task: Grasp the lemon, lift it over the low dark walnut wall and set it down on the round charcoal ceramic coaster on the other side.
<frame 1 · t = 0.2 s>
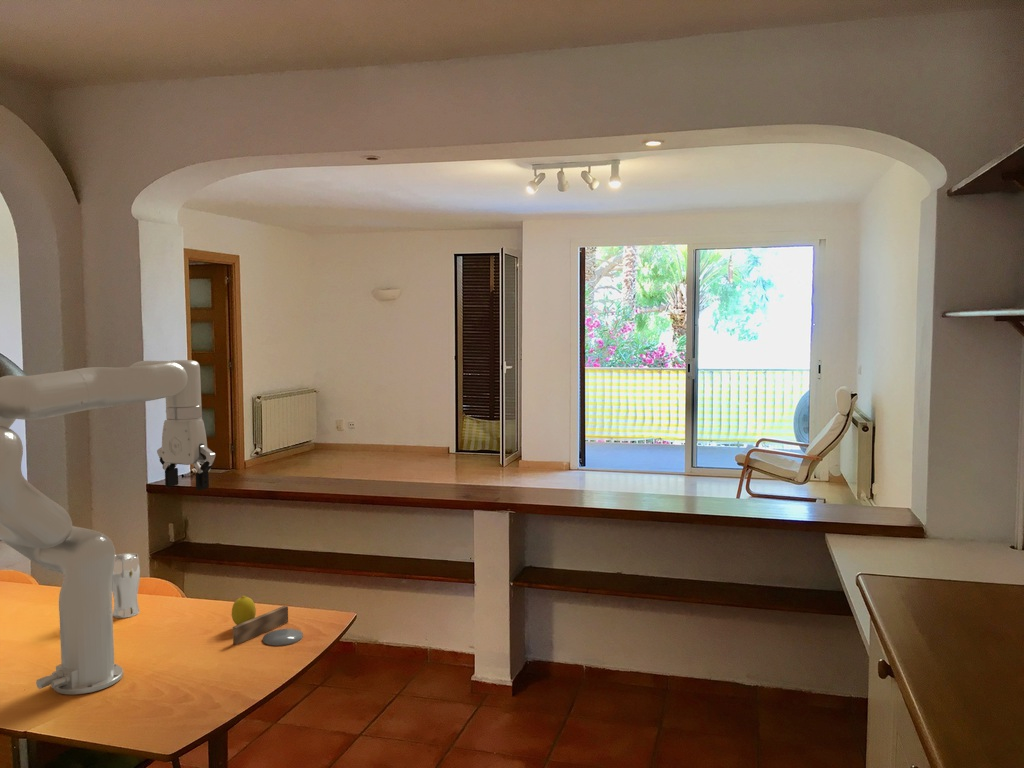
hand: (187, 487, 177), 36 cm above the table, tool pointing down, fingers open, 9 cm apart
lemon: (244, 628, 187), on the table
walnut wall: (261, 632, 184), on the table
beer glass: (126, 614, 197), on the table
coaster: (282, 638, 181), on the table
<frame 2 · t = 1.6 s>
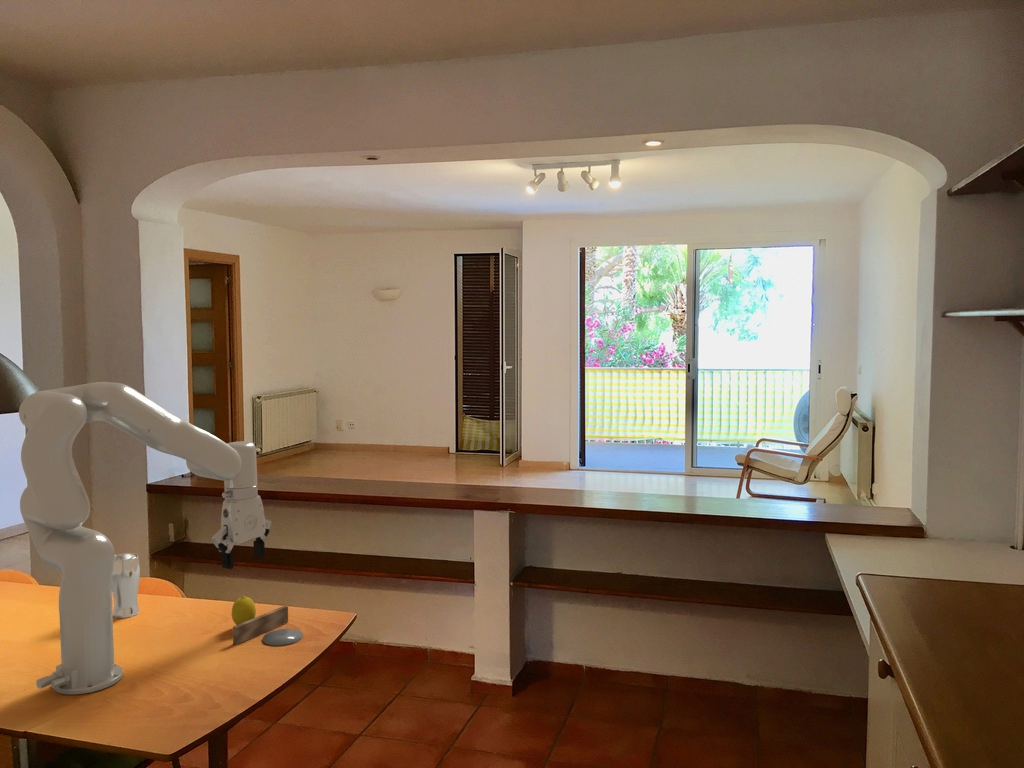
hand: (244, 562, 187), 16 cm above the table, tool pointing down, fingers open, 9 cm apart
nothing on the table moved.
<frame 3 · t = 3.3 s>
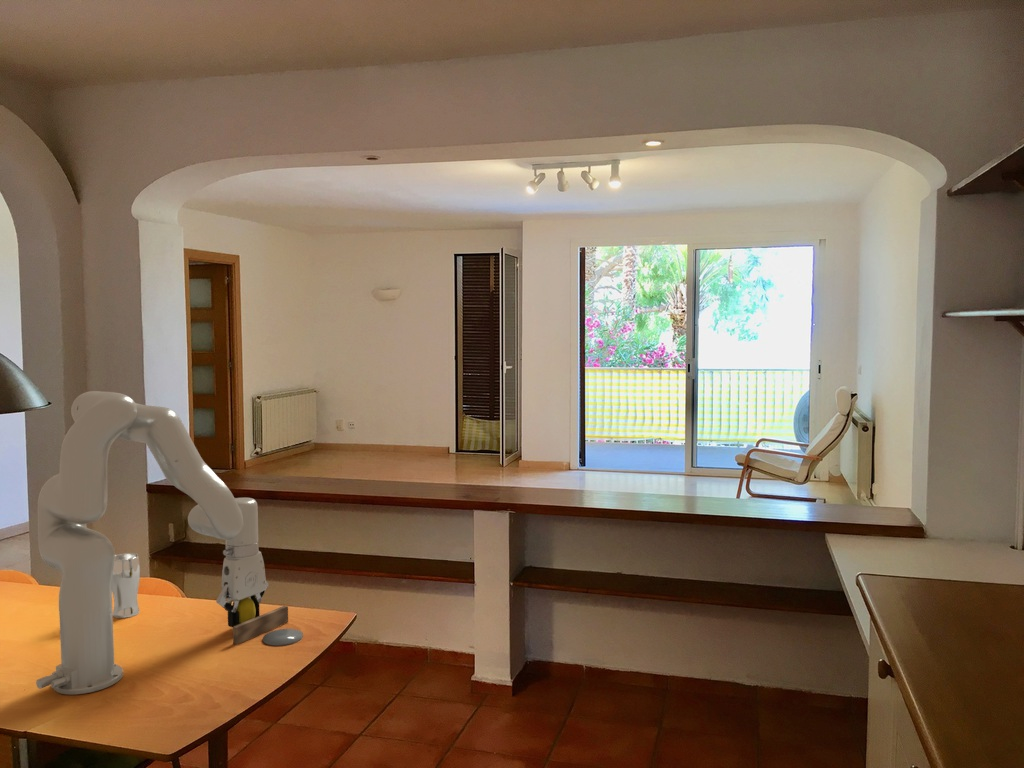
hand: (244, 621, 187), 2 cm above the table, tool pointing down, fingers closed on lemon, 5 cm apart
lemon: (244, 628, 187), on the table, touching gripper
everything else where it was.
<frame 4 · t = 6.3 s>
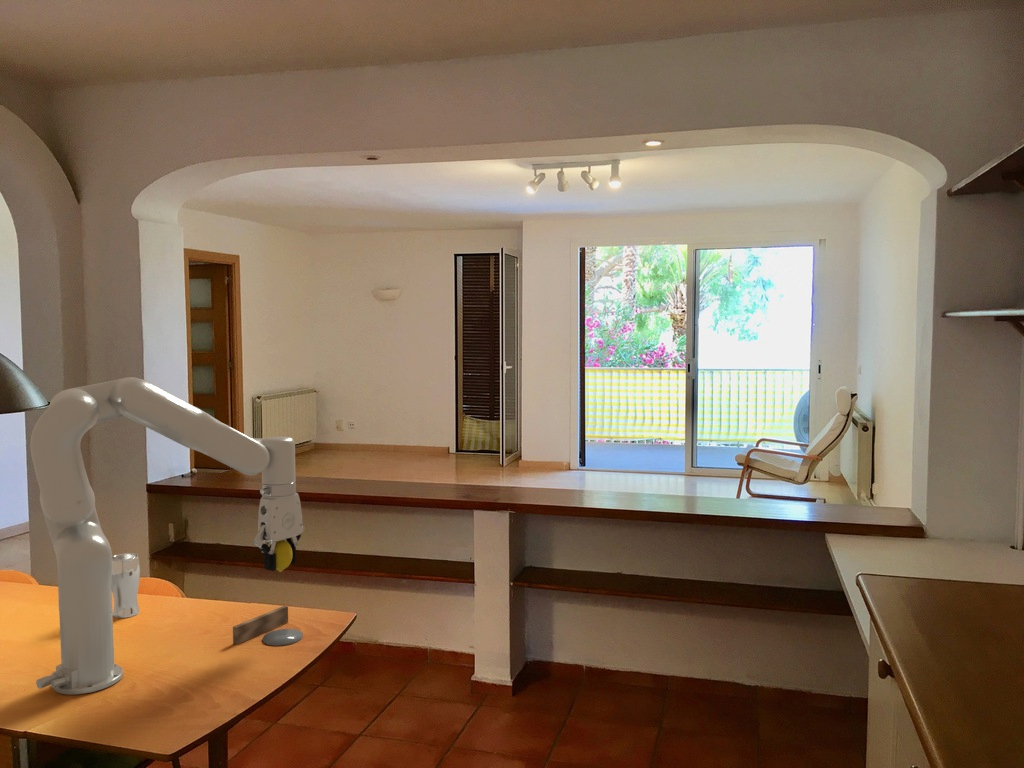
hand: (280, 565, 180), 17 cm above the table, tool pointing down, fingers closed on lemon, 5 cm apart
lemon: (280, 572, 180), point 16 cm above the table, touching gripper
everything else where it was.
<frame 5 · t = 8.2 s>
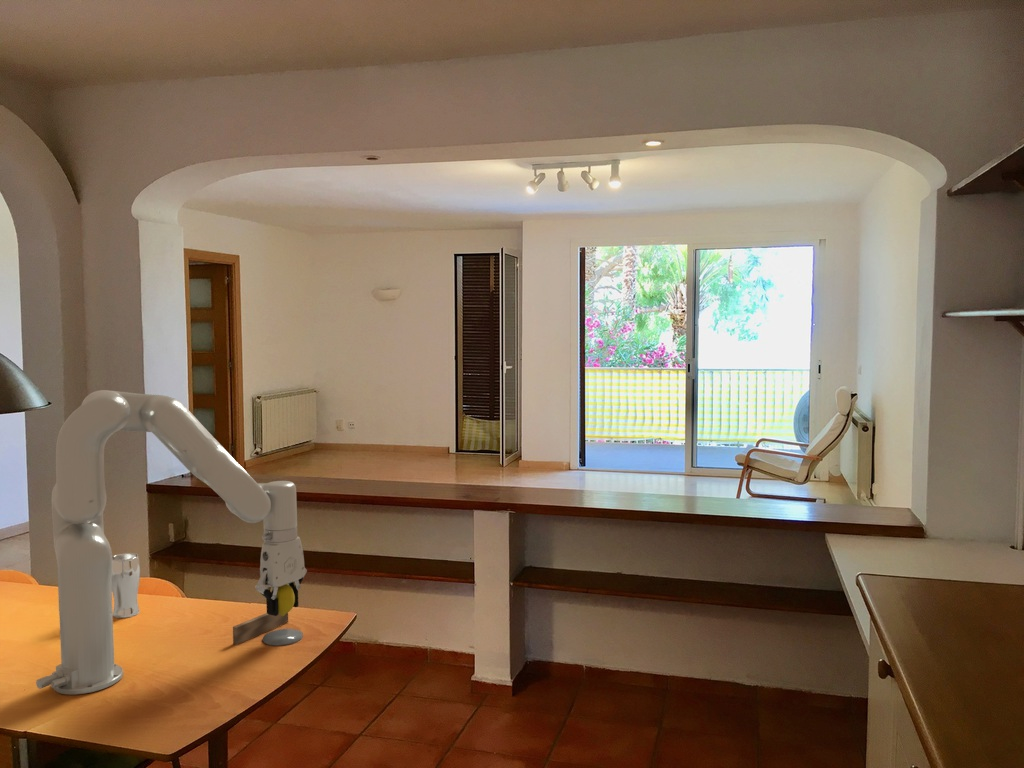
hand: (282, 609, 181), 7 cm above the table, tool pointing down, fingers closed on lemon, 5 cm apart
lemon: (283, 616, 181), point 5 cm above the table, touching gripper
everything else where it was.
when the fingers open (3 cm above the table, at t = 9.5 s): lemon stays where it is, resting on coaster.
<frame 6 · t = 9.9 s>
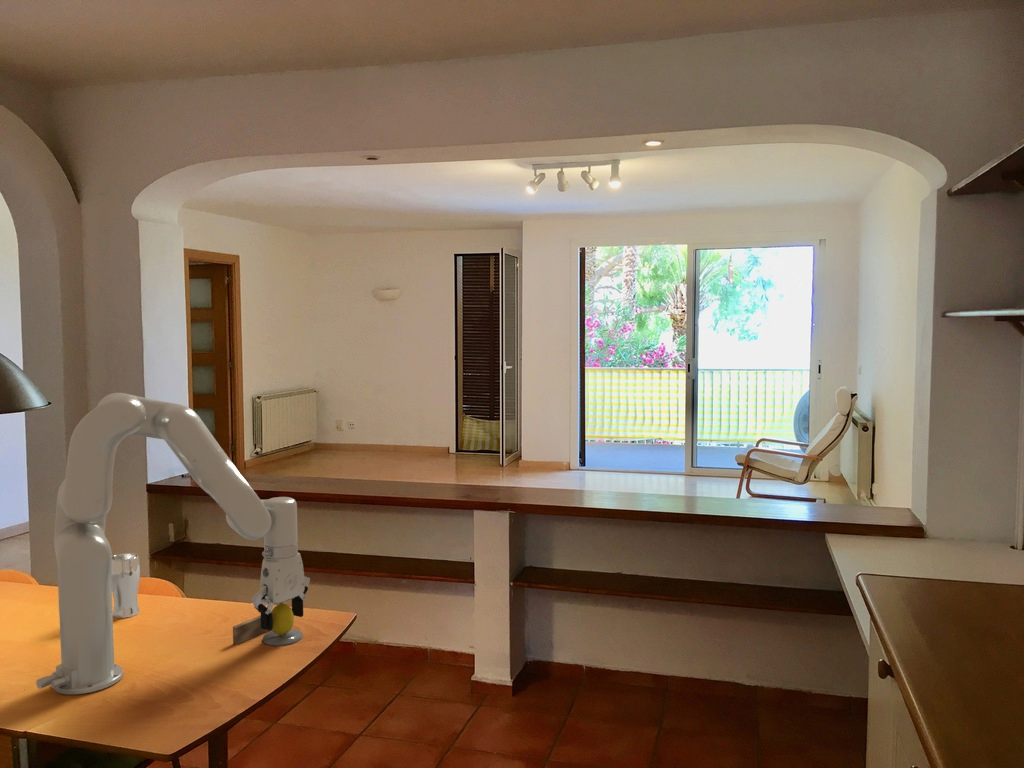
hand: (282, 622, 181), 4 cm above the table, tool pointing down, fingers open, 9 cm apart
lemon: (282, 637, 181), resting on coaster
everything else where it was.
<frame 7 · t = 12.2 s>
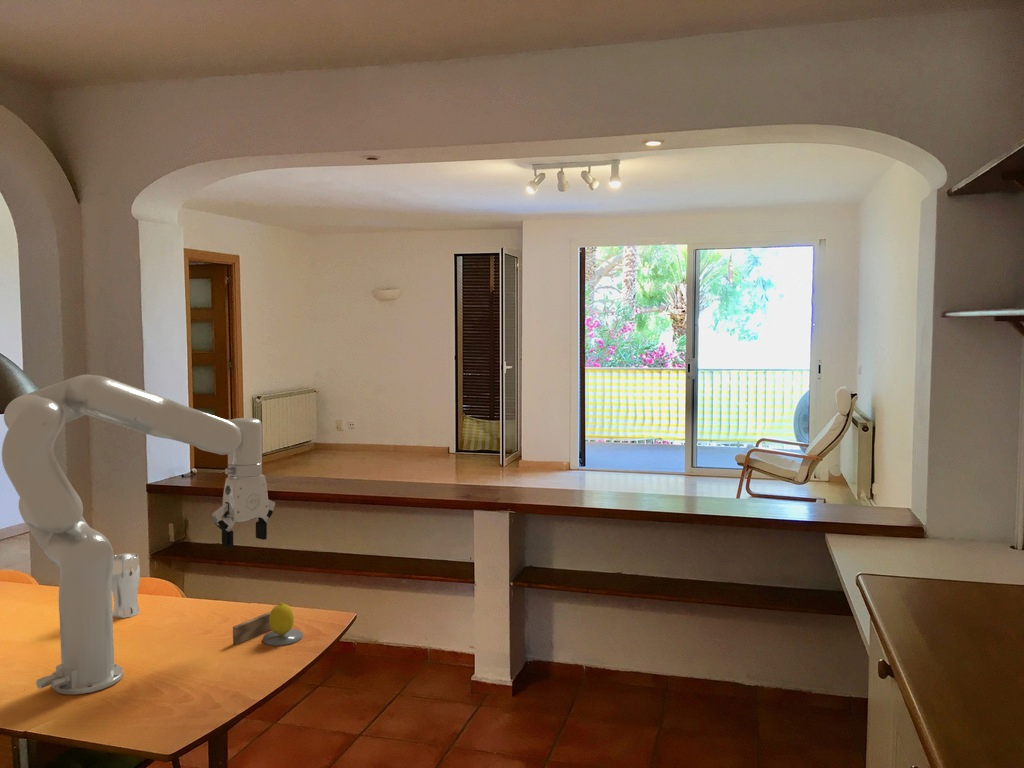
hand: (244, 542, 181), 22 cm above the table, tool pointing down, fingers open, 9 cm apart
nothing on the table moved.
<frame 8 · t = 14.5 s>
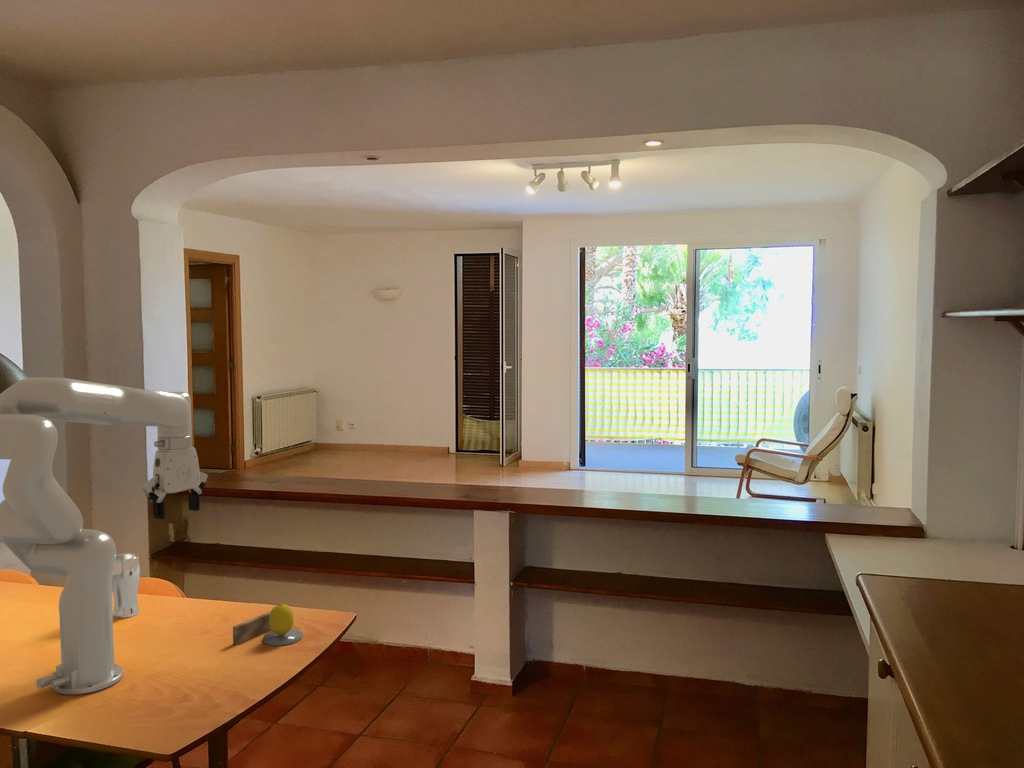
hand: (177, 514, 185), 28 cm above the table, tool pointing down, fingers open, 9 cm apart
nothing on the table moved.
at the end: lemon 0.2 cm off-centre on the coaster, point 0.3 cm above the coaster's base; lemon touching coaster; the gripper is holding nothing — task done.
